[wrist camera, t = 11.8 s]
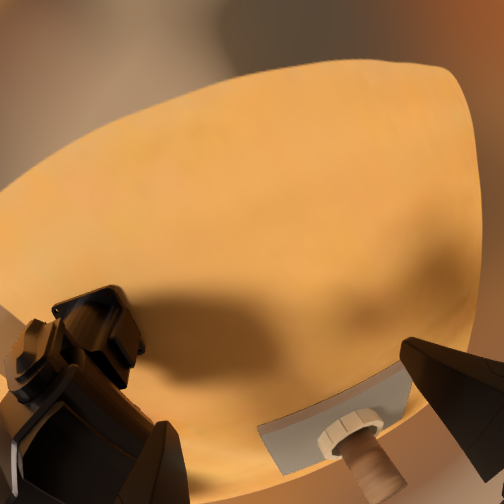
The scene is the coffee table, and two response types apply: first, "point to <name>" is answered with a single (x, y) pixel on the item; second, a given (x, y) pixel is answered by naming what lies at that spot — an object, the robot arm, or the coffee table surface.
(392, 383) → the base board
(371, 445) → the walnut column
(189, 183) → the coffee table surface
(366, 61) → the coffee table surface
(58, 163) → the coffee table surface
